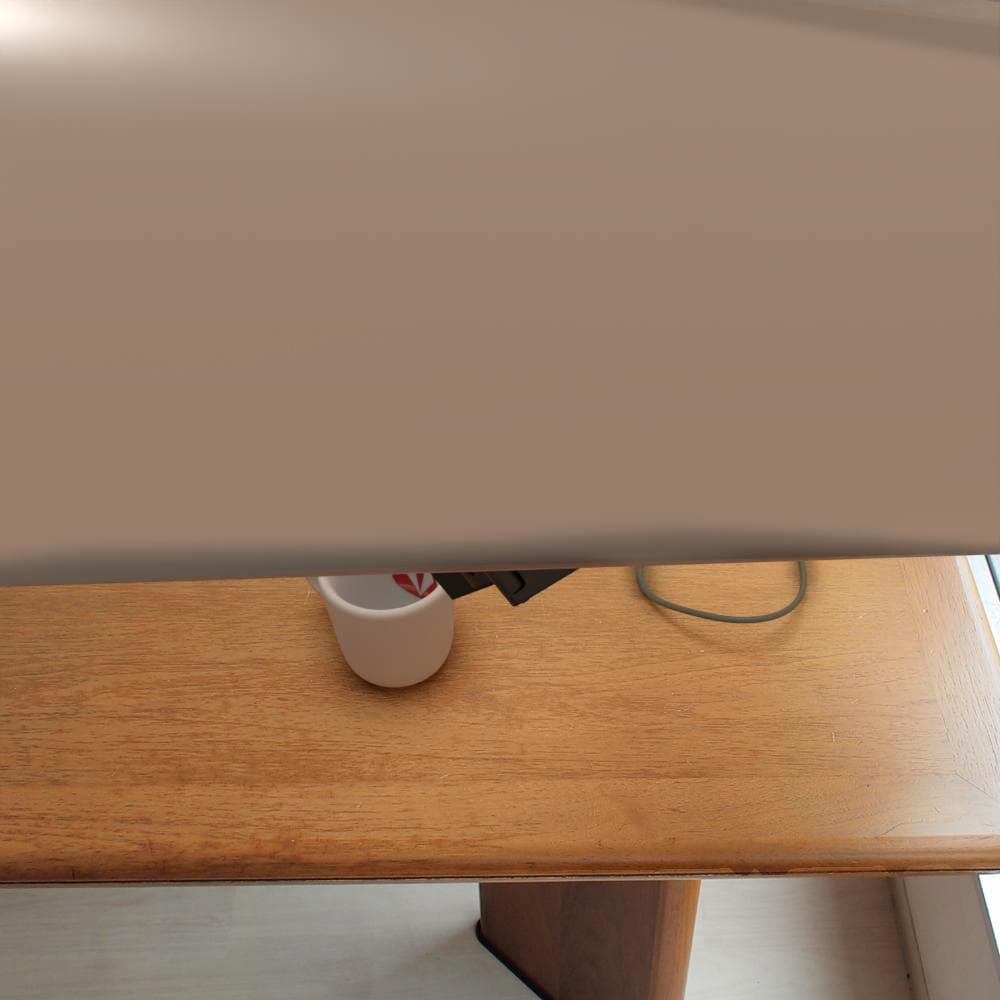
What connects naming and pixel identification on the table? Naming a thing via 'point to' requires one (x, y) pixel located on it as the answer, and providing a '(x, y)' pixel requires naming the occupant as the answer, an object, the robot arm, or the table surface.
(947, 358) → the robot arm
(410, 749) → the table surface
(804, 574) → the loop
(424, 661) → the cup
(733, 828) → the table surface
